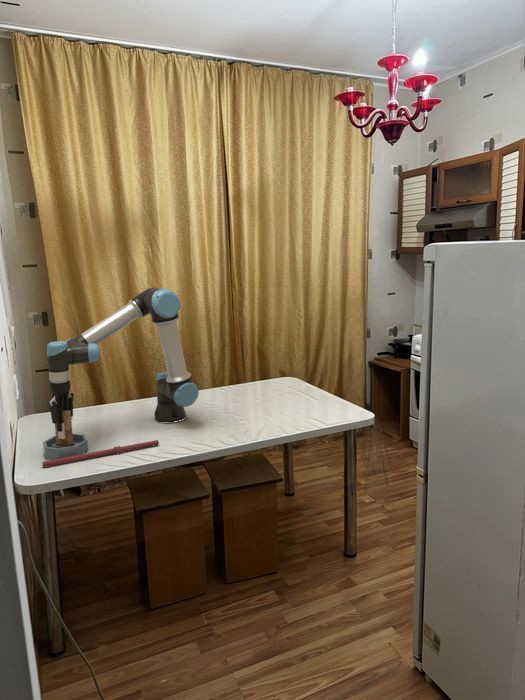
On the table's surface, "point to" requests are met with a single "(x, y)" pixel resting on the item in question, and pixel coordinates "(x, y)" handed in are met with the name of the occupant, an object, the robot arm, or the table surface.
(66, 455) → the octagonal blue tray
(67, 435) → the flat wood plank
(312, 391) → the table surface
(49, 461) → the rolling pin
